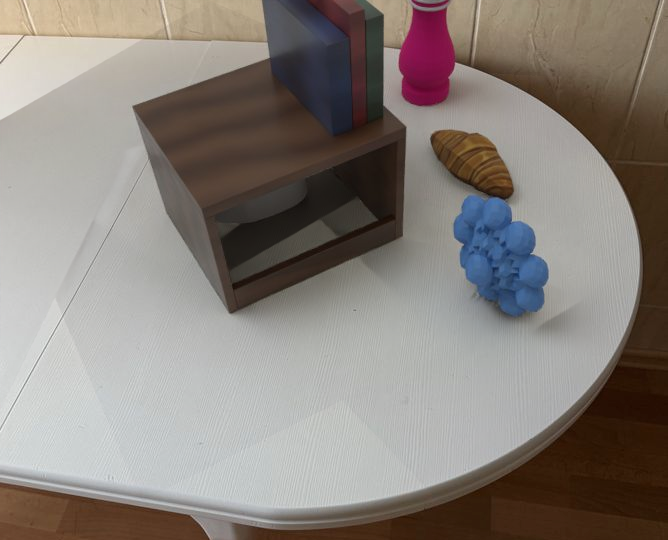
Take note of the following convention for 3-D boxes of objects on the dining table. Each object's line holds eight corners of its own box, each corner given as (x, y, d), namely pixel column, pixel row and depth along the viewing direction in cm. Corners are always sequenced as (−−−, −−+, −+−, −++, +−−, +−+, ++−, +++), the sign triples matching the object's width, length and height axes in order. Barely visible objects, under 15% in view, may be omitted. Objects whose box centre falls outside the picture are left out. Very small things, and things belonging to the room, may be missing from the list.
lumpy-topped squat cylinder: (316, 199, 82) (310, 136, 75) (212, 238, 79) (195, 176, 72) (280, 150, 87) (271, 88, 81) (181, 185, 84) (163, 123, 78)
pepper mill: (386, 92, 94) (387, -69, 78) (424, 70, 96) (432, -90, 80) (425, 115, 90) (435, -48, 74) (463, 91, 93) (481, -72, 77)
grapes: (420, 285, 73) (426, 196, 63) (467, 254, 75) (480, 164, 66) (503, 354, 67) (523, 267, 57) (551, 319, 69) (578, 229, 60)
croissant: (410, 155, 86) (412, 120, 82) (453, 134, 88) (457, 98, 84) (485, 215, 79) (490, 180, 75) (530, 191, 81) (538, 155, 77)
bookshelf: (166, 212, 82) (96, -5, 62) (324, 150, 87) (307, -69, 67) (229, 314, 72) (171, 95, 52) (402, 236, 77) (411, 11, 57)
